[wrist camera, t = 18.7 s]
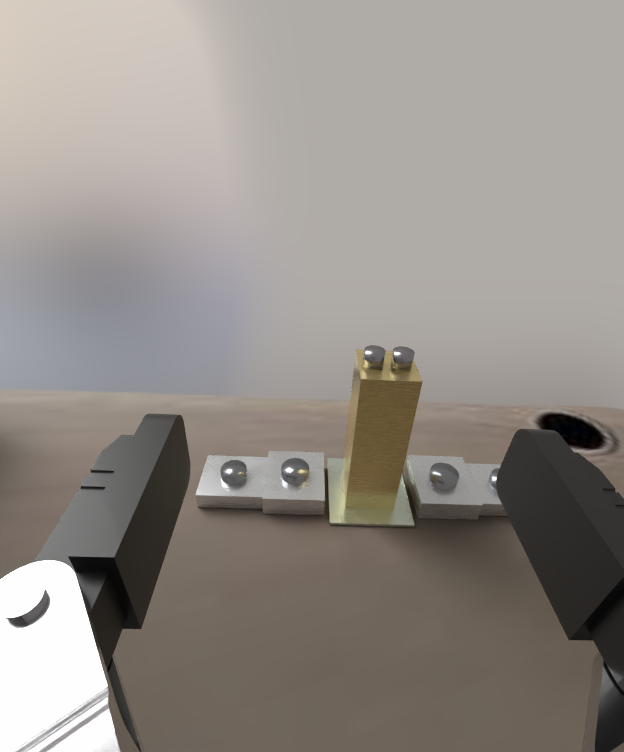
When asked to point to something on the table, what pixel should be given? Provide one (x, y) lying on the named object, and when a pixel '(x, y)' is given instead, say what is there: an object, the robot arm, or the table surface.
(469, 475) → the studded plate chain
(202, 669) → the table surface
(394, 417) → the tall studded toy brick
